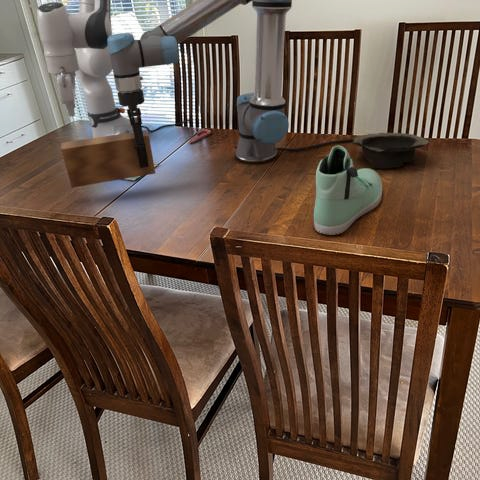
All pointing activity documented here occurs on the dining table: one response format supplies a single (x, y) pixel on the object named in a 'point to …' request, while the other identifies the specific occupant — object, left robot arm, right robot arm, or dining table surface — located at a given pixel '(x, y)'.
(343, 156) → the sneaker
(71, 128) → the dining table surface
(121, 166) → the box
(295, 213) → the dining table surface
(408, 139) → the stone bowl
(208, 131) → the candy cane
